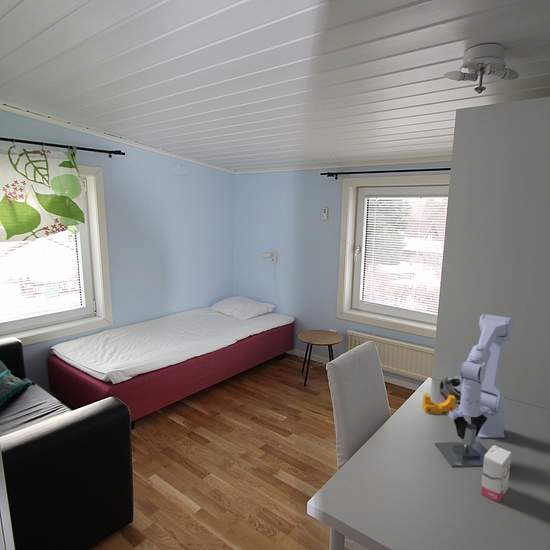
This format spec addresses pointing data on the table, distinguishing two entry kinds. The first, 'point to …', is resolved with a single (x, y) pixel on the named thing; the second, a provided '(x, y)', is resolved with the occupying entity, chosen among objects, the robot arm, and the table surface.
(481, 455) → the grey square base plate
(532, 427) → the table surface
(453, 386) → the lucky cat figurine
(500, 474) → the ink box
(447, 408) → the yellow curved piece
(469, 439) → the tube
